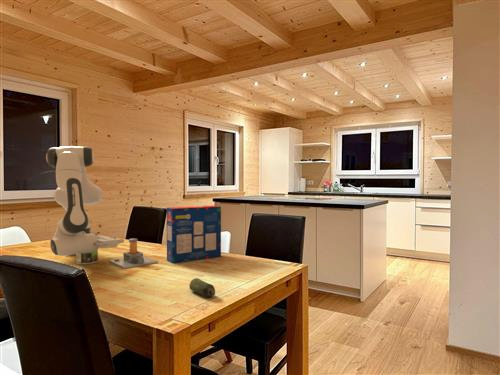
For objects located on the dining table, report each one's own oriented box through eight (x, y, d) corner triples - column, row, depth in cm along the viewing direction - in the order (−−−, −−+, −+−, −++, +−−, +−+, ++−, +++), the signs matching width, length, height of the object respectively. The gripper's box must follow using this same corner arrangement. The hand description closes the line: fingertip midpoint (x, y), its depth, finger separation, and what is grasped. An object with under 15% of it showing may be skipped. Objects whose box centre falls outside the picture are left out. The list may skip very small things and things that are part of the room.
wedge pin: (127, 260, 177) (127, 239, 177) (135, 259, 180) (135, 238, 180) (131, 261, 174) (131, 240, 174) (139, 260, 177) (138, 239, 177)
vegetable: (187, 291, 131) (187, 278, 131) (198, 288, 135) (198, 276, 134) (206, 301, 120) (206, 287, 120) (218, 298, 124) (218, 284, 124)
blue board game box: (214, 254, 197) (214, 205, 197) (221, 256, 190) (220, 206, 190) (166, 260, 181) (166, 207, 181) (172, 263, 175) (172, 208, 174)
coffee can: (102, 260, 182) (102, 233, 182) (89, 265, 172) (89, 236, 172) (85, 259, 184) (84, 233, 184) (71, 264, 174) (71, 236, 174)
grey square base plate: (108, 262, 178) (108, 252, 177) (141, 257, 190) (141, 248, 190) (123, 268, 164) (123, 258, 164) (157, 262, 177) (157, 253, 177)
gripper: (98, 238, 155) (128, 235, 164) (83, 233, 170) (111, 231, 179) (98, 252, 155) (128, 248, 164) (83, 246, 170) (111, 243, 179)
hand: (119, 239), depth 172 cm, fingers open, 8 cm apart
